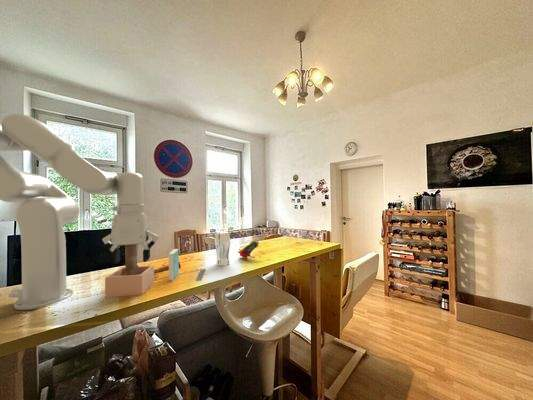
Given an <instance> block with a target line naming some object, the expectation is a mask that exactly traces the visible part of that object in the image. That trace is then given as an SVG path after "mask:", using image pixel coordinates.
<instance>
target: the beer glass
mask: <svg viewBox="0 0 533 400" xmlns="http://www.w3.org/2000/svg"><path fill="white" fill-rule="evenodd" d="M230 235H231V234H230V231H226V230H225V231H224V230H223V231H222V230H220V231H216V232H214V246H215V247H214V249H215V251H216V261H215V262H216V263H215V264H216V265H217V266H221V267H222V266H229V265H230V258H229V255H230V253H229V252H230V248H231V236H230Z"/></svg>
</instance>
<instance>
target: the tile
mask: <svg viewBox="0 0 533 400" xmlns="http://www.w3.org/2000/svg"><path fill="white" fill-rule="evenodd" d="M179 260H180V259H179V248H174V249H173V250H171V251H170V252H169V253H168V265H169V270H168V281H175V279H176V278H177V276H178V275H179V273H180V268H179V262H180V261H179Z"/></svg>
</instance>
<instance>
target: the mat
mask: <svg viewBox="0 0 533 400" xmlns="http://www.w3.org/2000/svg"><path fill="white" fill-rule="evenodd" d="M205 272H206V269H205V268H201V269H199V273H198V274H197V276H196V279H195V282H200V281H202V280H203V277H204V274H205Z"/></svg>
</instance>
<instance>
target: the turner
mask: <svg viewBox="0 0 533 400" xmlns="http://www.w3.org/2000/svg"><path fill="white" fill-rule="evenodd" d="M124 248H125V249H124V255H125V256H124V257H125V258H124V259H125V260H124V264H125V265H124V267H125V271H124V276H125V275H139V273H138V266H139V265H138V244H136V245H124Z"/></svg>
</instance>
